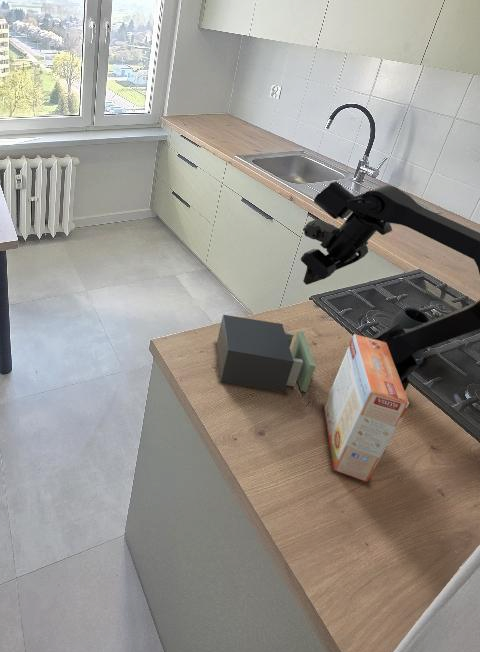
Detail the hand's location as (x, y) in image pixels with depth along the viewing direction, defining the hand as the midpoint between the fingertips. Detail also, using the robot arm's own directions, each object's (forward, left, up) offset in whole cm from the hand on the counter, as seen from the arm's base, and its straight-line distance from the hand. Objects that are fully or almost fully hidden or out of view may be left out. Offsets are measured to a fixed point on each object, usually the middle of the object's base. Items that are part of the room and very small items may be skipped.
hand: (316, 277), depth 101 cm
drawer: (-12, +12, -16) cm, 24 cm away
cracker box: (-29, +6, -17) cm, 34 cm away
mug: (-6, -24, -17) cm, 30 cm away
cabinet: (-11, +18, -17) cm, 27 cm away
